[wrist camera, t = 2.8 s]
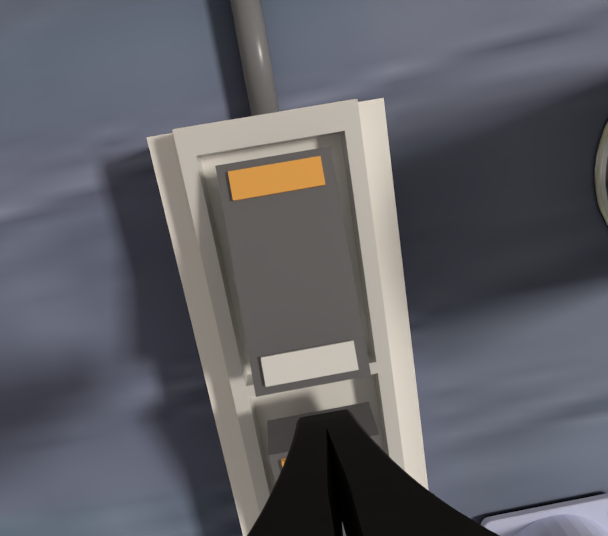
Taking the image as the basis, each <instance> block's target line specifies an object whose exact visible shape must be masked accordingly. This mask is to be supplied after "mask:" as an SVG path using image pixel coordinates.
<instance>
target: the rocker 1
mask: <svg viewBox="0 0 608 536" xmlns="http://www.w3.org/2000/svg"><path fill="white" fill-rule="evenodd" d="M215 167H216V173H217V179H218V184H219V190H220V196H221V201H222V207H223V213H224V219H225V224H226V230H227V236H228V241H229V247H230V253H231V258H232V264H233V270H234V275H235V281H236V287H237V292H238V298H239V304H240V310H241V315H242V321H243V327H244V332H245V338H246V344H247V349H248V355H249V361H250V366H251V372H252V378H253V383H254V389H255V395H256V397H258V396H263V395H269V394H274V393H279V392H285V391H290V390H296V389H301V388H306V387H312V386H317V385H323V384H328V383H333V382H339V381H344V380H349V379H355V378H360V377H366V376H371V372H370V366H369V360H368V355H367V349H366V344H365V338H364V333H363V327H362V321H361V316H360V310H359V305H358V299H357V293H356V288H355V282H354V277H353V271H352V266H351V260H350V254H349V249H348V243H347V238H346V232H345V227H344V221H343V215H342V210H341V204H340V199H339V193H338V188H337V182H336V176H335V171H334V165H333V160H332V154H331V148H330V146H329V147H323V148H317V149H311V150H305V151H299V152H294V153H288V154H282V155H276V156H270V157H264V158H258V159H252V160H246V161H240V162H235V163H229V164H223V165H217V166H215Z"/></svg>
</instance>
